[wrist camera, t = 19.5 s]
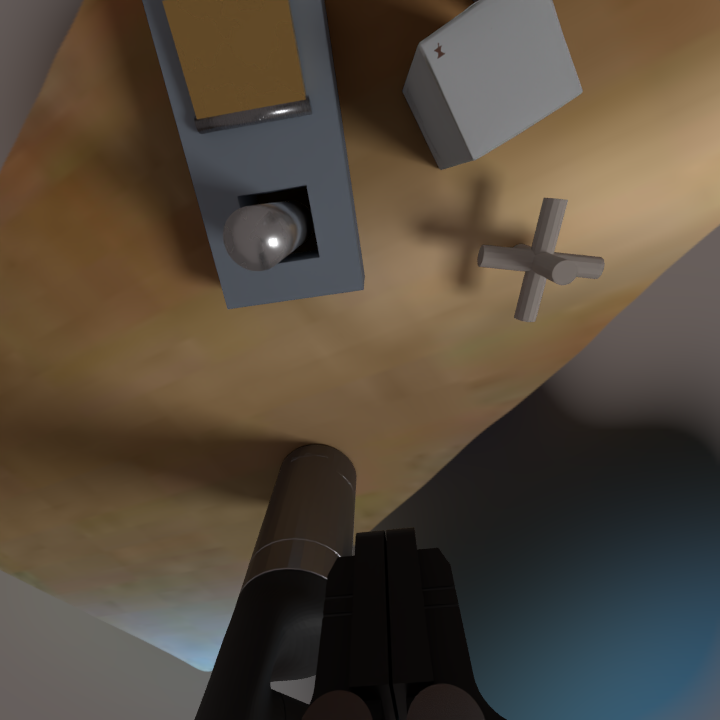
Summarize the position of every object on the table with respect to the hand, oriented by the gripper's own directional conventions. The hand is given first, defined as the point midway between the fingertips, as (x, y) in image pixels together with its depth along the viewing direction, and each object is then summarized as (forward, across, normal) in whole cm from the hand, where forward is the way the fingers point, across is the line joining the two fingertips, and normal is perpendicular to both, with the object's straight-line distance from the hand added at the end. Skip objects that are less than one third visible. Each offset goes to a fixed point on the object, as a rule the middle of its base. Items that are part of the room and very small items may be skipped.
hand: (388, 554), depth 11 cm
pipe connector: (+33, -14, -1) cm, 36 cm away
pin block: (+33, +7, -12) cm, 36 cm away
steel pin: (+33, +7, -7) cm, 34 cm away
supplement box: (+33, -9, -14) cm, 37 cm away
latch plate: (+27, +7, -18) cm, 33 cm away
